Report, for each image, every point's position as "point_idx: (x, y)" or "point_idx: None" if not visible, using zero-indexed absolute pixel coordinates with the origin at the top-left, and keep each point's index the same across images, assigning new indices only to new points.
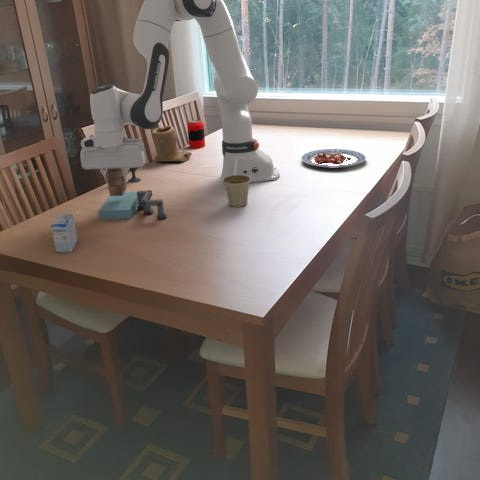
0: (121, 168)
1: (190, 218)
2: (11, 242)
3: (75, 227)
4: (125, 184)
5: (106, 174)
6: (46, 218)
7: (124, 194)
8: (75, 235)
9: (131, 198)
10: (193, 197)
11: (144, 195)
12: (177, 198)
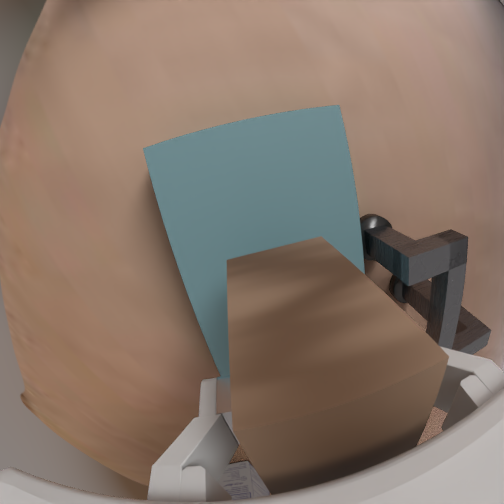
0: (427, 416)
1: (496, 288)
2: (107, 462)
3: (252, 488)
4: (337, 251)
5: (221, 439)
6: (45, 368)
7: (255, 164)
8: (254, 479)
9: (334, 231)
10: (491, 105)
11: (444, 316)
12: (458, 106)
